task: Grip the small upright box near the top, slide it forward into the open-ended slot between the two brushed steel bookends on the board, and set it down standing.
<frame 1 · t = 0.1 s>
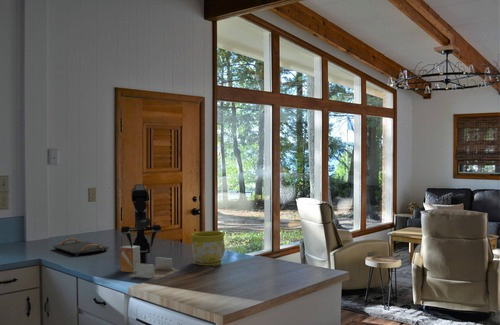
hand: (141, 247, 252), 15 cm above the counter, tool pointing down, fingers open, 9 cm apart
serving board: (80, 251, 331), on the counter
flowerpot: (208, 264, 283), on the counter
bookends: (155, 272, 262), resting on shelf board
small box: (130, 272, 269), on the counter
shelf board: (155, 274, 262), on the counter
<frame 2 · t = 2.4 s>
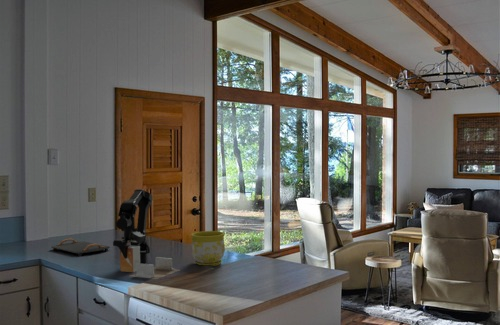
hand: (130, 257, 269), 8 cm above the counter, tool pointing down, fingers closed on small box, 6 cm apart
small box: (130, 272, 269), on the counter, touching gripper
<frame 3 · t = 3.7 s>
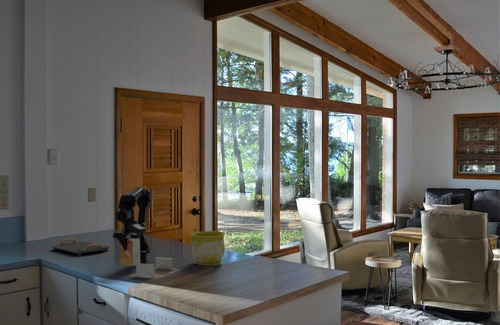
hand: (129, 249, 269), 11 cm above the counter, tool pointing down, fingers closed on small box, 6 cm apart
small box: (130, 264, 269), point 4 cm above the counter, touching gripper
everything else where it was.
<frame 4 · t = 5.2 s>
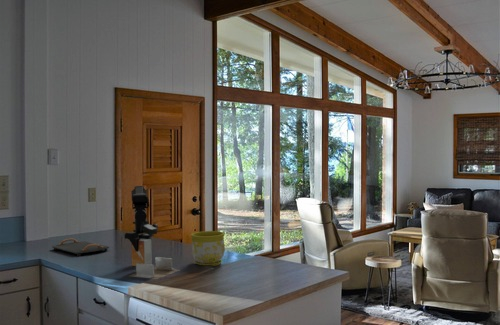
hand: (141, 250, 265), 12 cm above the counter, tool pointing down, fingers closed on small box, 6 cm apart
small box: (141, 265, 265), point 4 cm above the counter, touching gripper
everything else where it was.
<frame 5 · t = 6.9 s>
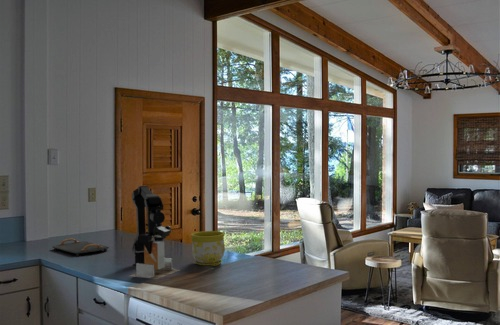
hand: (154, 252, 262), 11 cm above the counter, tool pointing down, fingers closed on small box, 6 cm apart
small box: (154, 268, 262), point 3 cm above the counter, touching gripper
everything else where it was.
when the fingers open (10 cm above the counter, at t = 8.0 s): small box drops 1 cm, resting on shelf board.
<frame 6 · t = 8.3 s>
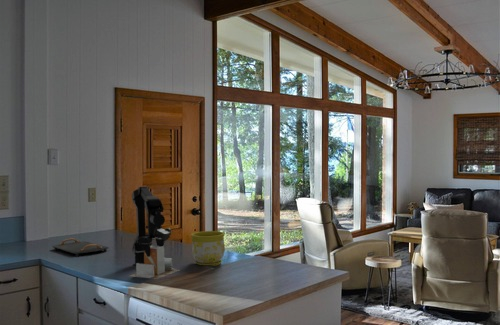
hand: (154, 254, 262), 10 cm above the counter, tool pointing down, fingers open, 9 cm apart
small box: (154, 273, 262), point 1 cm above the counter, touching shelf board
everything else where it was.
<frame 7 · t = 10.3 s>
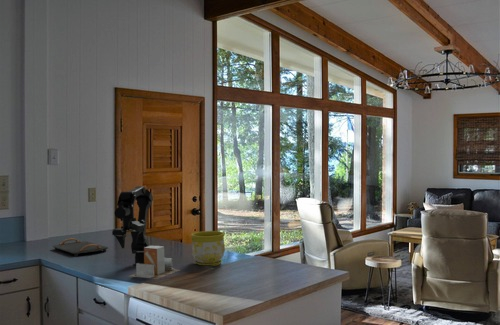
hand: (129, 246, 269), 13 cm above the counter, tool pointing down, fingers open, 9 cm apart
nothing on the counter moved.
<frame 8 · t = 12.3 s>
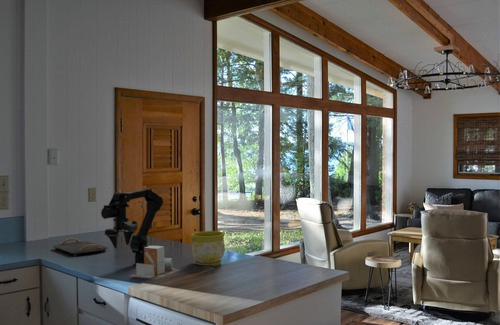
hand: (121, 246, 275), 12 cm above the counter, tool pointing down, fingers open, 9 cm apart
nothing on the counter moved.
at the end: small box 0.1 cm off-centre on the shelf board, point 0.6 cm above the shelf board's base; small box tilted 0°; the gripper is holding nothing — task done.
